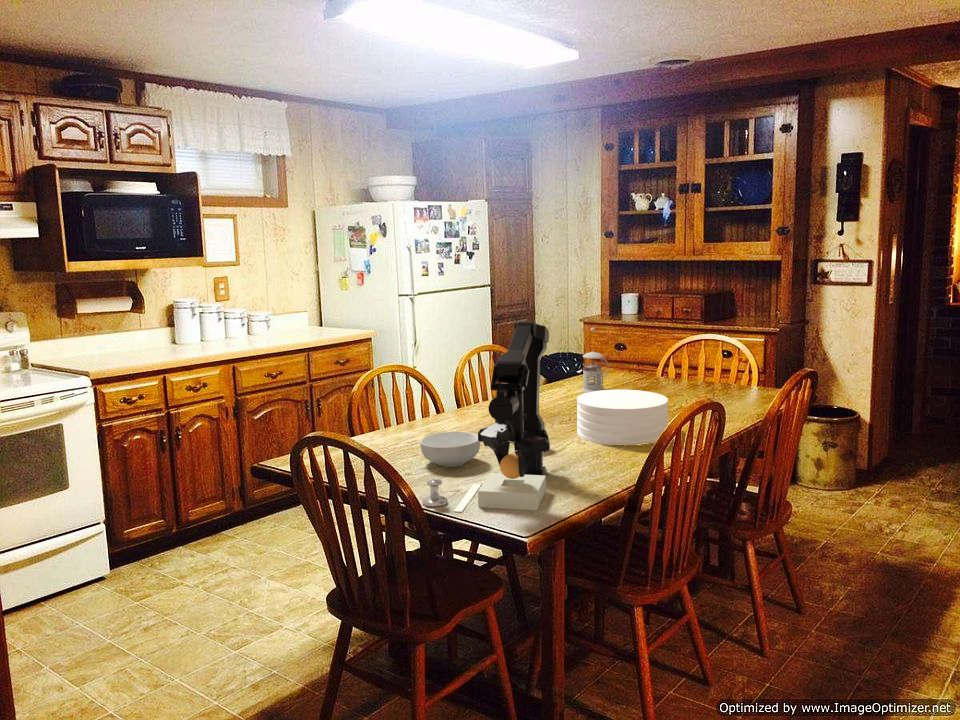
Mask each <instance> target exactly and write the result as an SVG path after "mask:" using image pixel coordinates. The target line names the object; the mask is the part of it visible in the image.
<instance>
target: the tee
mask: <svg viewBox="0 0 960 720" xmlns="http://www.w3.org/2000/svg"><path fill="white" fill-rule="evenodd" d="M442 483H443V481H442V480H441V479H439V478H431V479H428V480H426V486H429V487H430V496H426V497H424V498H423V499H422V500H421V501H422V505H423V506H424V507H426V508H441V507H444V506H446V505H448V498H447V497H445V496H443V495H440V492H439V490H440V489H439V486H441V485H443V484H442Z"/></svg>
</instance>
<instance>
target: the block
mask: <svg viewBox="0 0 960 720" xmlns="http://www.w3.org/2000/svg"><path fill="white" fill-rule="evenodd" d="M546 480H547V476H546V475H524V477H518V478H516V479H509V478H507V477H505V476H504V475H503V474H502V472H501V473H500V472H499V473H498V472H497V473H496V472H490V473H489V475H488V477H487V478H485V480H484V482H483V483H482V484H481V486H480V488H479V489H478V491H477V498H478V499H477V503H478V508H490V509H501V510H502V509H503V510H519V511H520V510H522V511H538V509H539V506H540V505H541V502H542V500H543V499H544V496H545V494H546V492H547V481H546Z"/></svg>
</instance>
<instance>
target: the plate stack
mask: <svg viewBox="0 0 960 720" xmlns="http://www.w3.org/2000/svg"><path fill="white" fill-rule="evenodd" d="M576 404H577V405H576V412H577V414H576V419H577V421H576V427H577V430H576V434H577V436H578V438H580V439H581V438H582V440H583V439H584V440H583V441H586V442H589V441H590V443H593V442H594V444H597V443H599V444H598V445H604V444H607V445H606V446H613V445H637V444H643V443H652V442H653V444H656V443H655V441H656V440H657V439H658V437H659V436H660V434H661V433H662V432H663V431H664V429H665V428H666V427H667V425H668V426H669V424H668V420H669V408H668V405H669V398H668V397H667V396H665V395H664V394H660V393H658V392H657V393H656V392H654V391H647V390H646V391H645V390H639V389H636V390H635V389H605V390H601V391H593V392H584V393H581V394H580V395H578V396H577V397H576Z"/></svg>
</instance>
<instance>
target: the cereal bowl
mask: <svg viewBox="0 0 960 720" xmlns="http://www.w3.org/2000/svg"><path fill="white" fill-rule="evenodd" d="M480 449H481V441H478V434H476V433H473V432H468V431H443V432H436V433H431V434H428V435H426V436H424V437H422V438H421V439H420V450H421V454H422V456H424V458H425V459H426V460H428V461H430V462H432V463H435V464H437V465H438V466H441V467H445V468H446V467H447V468H448V467H450V468H451V467H459V466H462V465H464V464H465V463H467V462H468V461H471V460H472V459H473V458H475V457H476V456H477V454H478V453H479V451H480Z"/></svg>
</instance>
